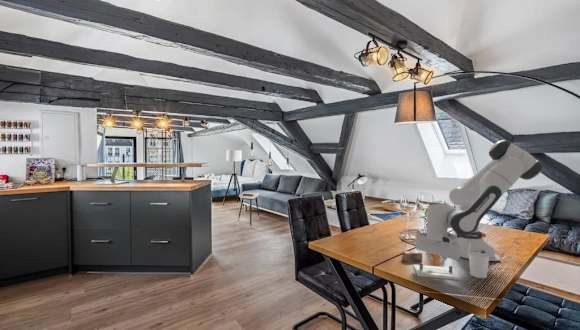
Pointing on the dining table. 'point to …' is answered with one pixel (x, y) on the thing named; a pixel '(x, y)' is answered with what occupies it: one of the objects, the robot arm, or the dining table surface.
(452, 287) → the dining table surface
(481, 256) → the pale white cylinder
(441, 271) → the wall panel
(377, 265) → the dining table surface
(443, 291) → the dining table surface
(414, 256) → the walnut frame
